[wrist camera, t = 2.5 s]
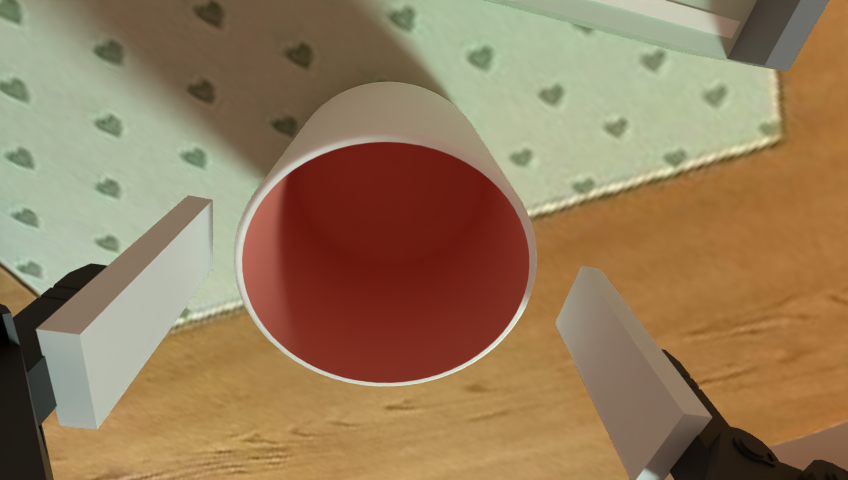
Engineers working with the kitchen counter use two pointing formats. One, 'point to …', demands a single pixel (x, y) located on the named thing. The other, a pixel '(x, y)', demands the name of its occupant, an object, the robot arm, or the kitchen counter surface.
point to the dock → (697, 25)
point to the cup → (385, 241)
